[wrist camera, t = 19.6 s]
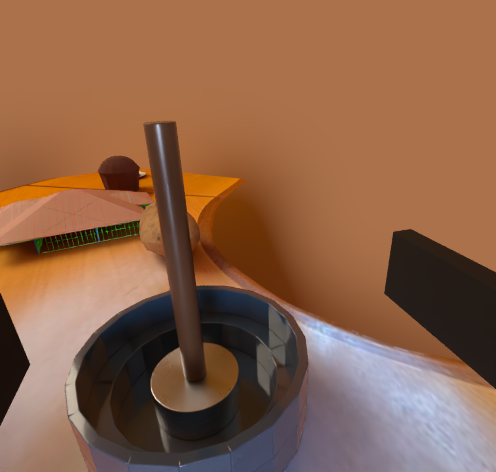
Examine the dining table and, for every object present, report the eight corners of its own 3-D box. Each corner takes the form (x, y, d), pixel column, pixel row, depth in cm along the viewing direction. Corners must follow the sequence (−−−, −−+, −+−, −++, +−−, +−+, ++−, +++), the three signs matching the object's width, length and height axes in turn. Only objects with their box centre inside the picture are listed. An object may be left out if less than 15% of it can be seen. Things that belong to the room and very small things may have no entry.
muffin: (101, 190, 97) (93, 156, 93) (139, 184, 102) (133, 152, 98) (105, 199, 87) (96, 162, 83) (146, 192, 92) (140, 157, 88)
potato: (157, 279, 47) (148, 228, 44) (134, 246, 58) (126, 204, 55) (217, 261, 51) (212, 214, 48) (185, 233, 63) (180, 193, 59)
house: (165, 230, 65) (159, 190, 61) (-39, 271, 52) (-61, 224, 49) (145, 201, 84) (140, 170, 80) (-7, 226, 71) (-21, 190, 68)
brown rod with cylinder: (257, 394, 27) (246, 117, 18) (194, 460, 22) (138, 130, 14) (202, 356, 31) (172, 117, 23) (139, 405, 27) (70, 126, 18)
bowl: (342, 392, 28) (348, 332, 25) (186, 623, 16) (168, 554, 13) (206, 316, 39) (201, 268, 36) (51, 420, 27) (26, 360, 24)
